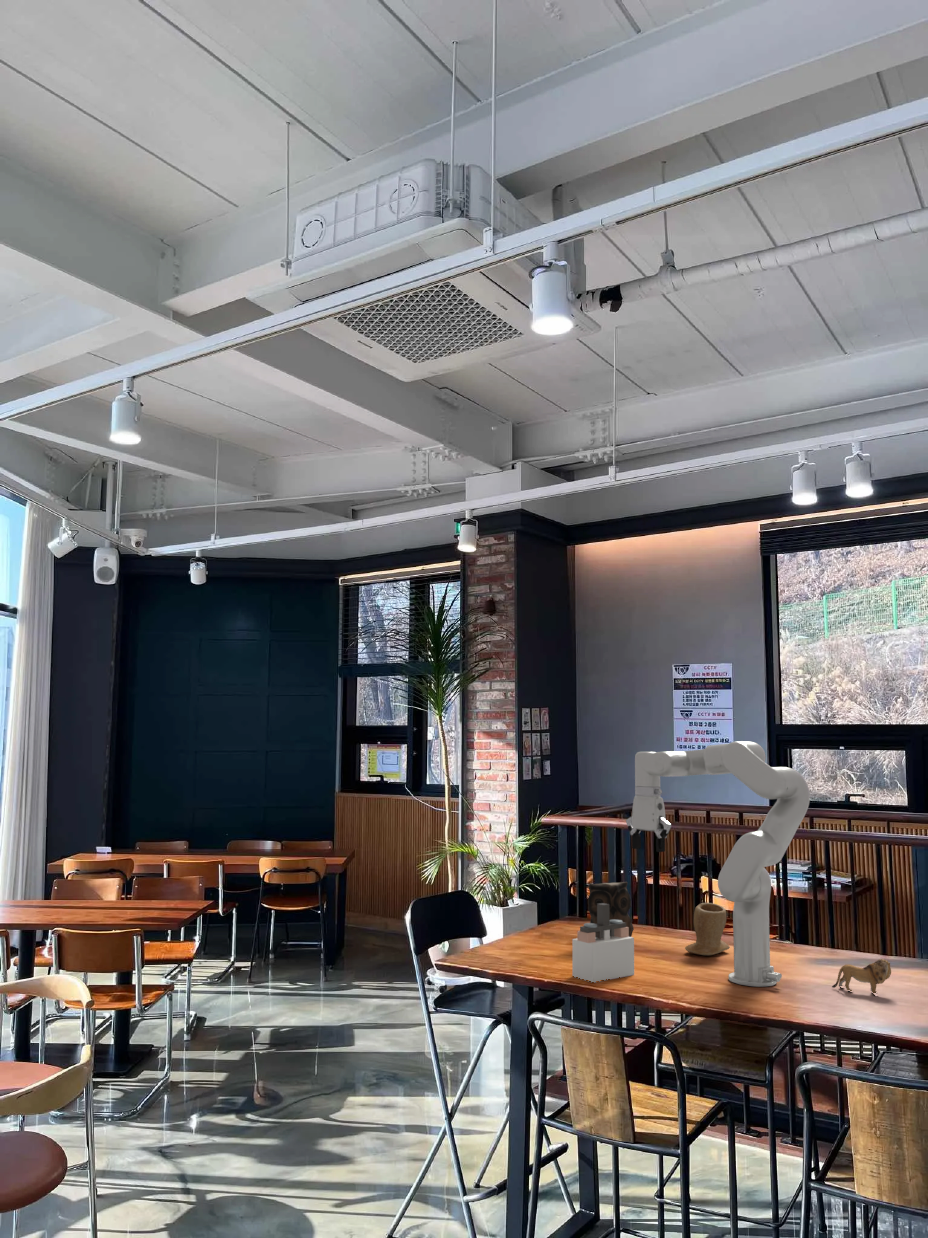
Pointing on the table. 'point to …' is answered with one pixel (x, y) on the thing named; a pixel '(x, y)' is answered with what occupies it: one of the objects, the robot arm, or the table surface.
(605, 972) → the white toy brick
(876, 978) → the lion figurine
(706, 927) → the stone cup
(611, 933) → the bar with two balls
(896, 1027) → the table surface
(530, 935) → the table surface
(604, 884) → the owl
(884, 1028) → the table surface
